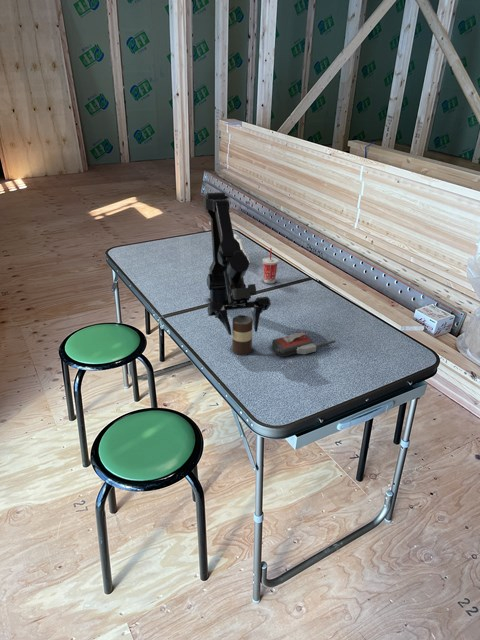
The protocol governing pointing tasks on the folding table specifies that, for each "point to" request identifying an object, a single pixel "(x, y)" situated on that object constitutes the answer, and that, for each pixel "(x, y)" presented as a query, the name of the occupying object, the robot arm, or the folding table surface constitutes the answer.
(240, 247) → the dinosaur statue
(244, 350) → the coffee can
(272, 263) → the beverage cup
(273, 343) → the walkie-talkie
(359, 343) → the folding table surface
